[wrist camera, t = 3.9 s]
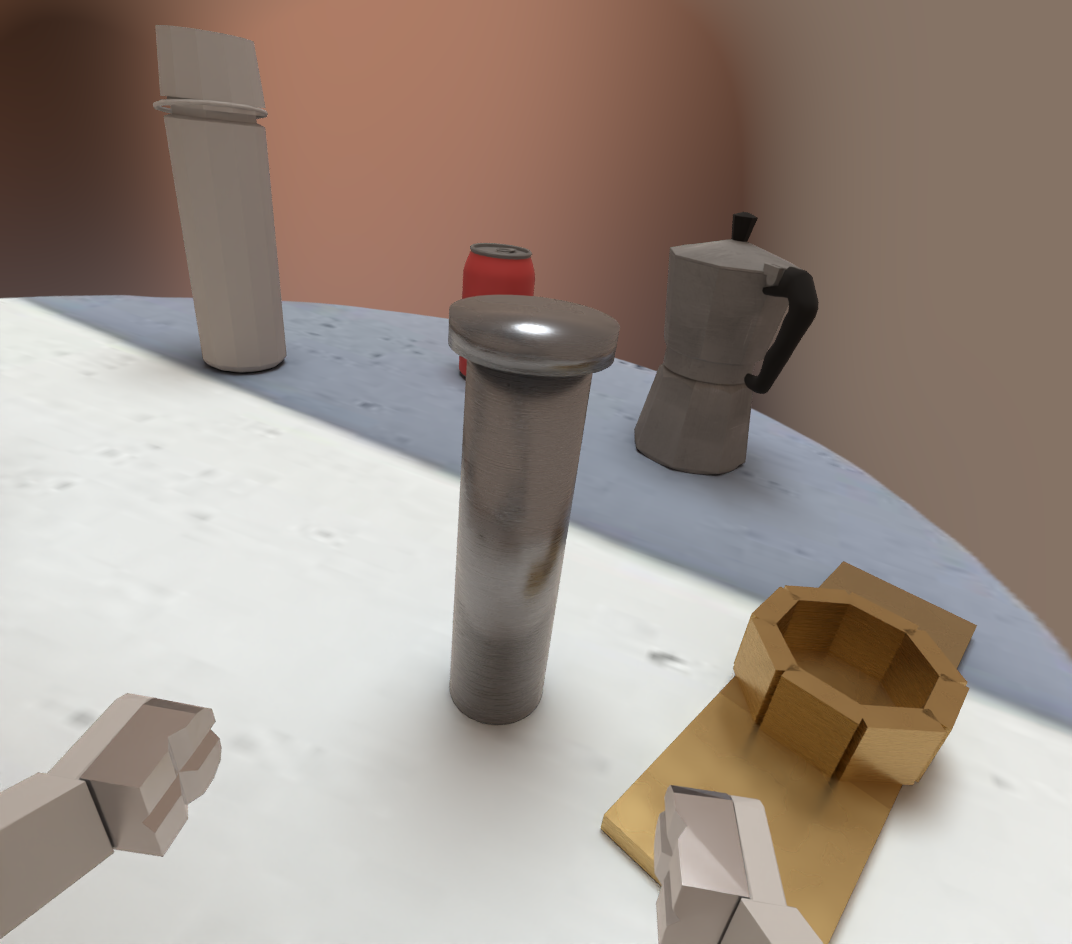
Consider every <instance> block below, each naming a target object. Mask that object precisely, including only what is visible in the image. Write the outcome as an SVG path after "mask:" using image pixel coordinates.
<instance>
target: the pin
mask: <svg viewBox="0 0 1072 944" xmlns="http://www.w3.org/2000/svg"><path fill="white" fill-rule="evenodd" d="M619 329H620V326H619V324H618V322H617V321H616V320H615V319H614V318H612V317H611V316H609V315H607V314H605V313H603V312H601V311H598V310H595V309H593V308H590V307H587V306H583V305H580V304H575V303H571V302H567V301H562V300H556V299H549V298H543V297H535V296H524V295H483V296H474V297H469V298H464V299H461V300H458V301H456V302H454V303H453V304H452V305H451V306H450V309H449V333H448V344H449V346H450V348H451V349H452V350H453V351H454V352H455V353H457V354H458V355H460V356H461V357H463V358H465V359H467V368H466V387H465V406H464V425H463V444H462V462H461V481H460V500H459V519H458V537H457V556H456V575H455V594H454V613H453V631H452V650H451V669H450V694H451V697H452V699H453V702H454V703H455V705H456V706H457V707H458V708H459V710H460V711H462V712H463V713H464V714H465V715H467V716H468V717H470V718H472V719H474V720H476V721H479V722H482V723H486V724H493V725H502V724H509V723H513V722H516V721H519V720H521V719H523V718H525V717H526V716H528V715H529V714H530V713H532V712H533V711H534V709H535V708H536V707H537V705H538V704H539V702H540V700H541V696H542V691H543V685H544V679H545V672H546V666H547V660H548V653H549V647H550V640H551V634H552V628H553V621H554V615H555V609H556V602H557V596H558V589H559V583H560V577H561V570H562V564H563V558H564V551H565V545H566V539H567V532H568V526H569V519H570V513H571V507H572V500H573V494H574V488H575V481H576V475H577V469H578V462H579V456H580V449H581V443H582V437H583V430H584V424H585V418H586V411H587V405H588V399H589V392H590V386H591V379H592V373H596V372H599V371H602V370H604V369H606V368H608V367H609V366H611V365H612V363H613V362H614V358H615V352H616V346H617V340H618V335H619Z"/></svg>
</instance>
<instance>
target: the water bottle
mask: <svg viewBox="0 0 1072 944" xmlns="http://www.w3.org/2000/svg"><path fill="white" fill-rule="evenodd" d="M156 39H157V54H158V68H159V82H160V95H162V96H167V100H160V101H157V102H155V103H153V106H154V108H155V109H157V110H160V111H164V112H167V113H172V114H169V115H165V116H164V120H165V126H166V133H167V139H168V145H169V152H170V158H171V163H172V170H173V176H174V182H175V188H176V194H177V201H178V207H179V213H180V219H181V226H182V232H183V238H184V244H185V250H186V257H187V263H188V269H189V275H190V281H191V288H192V294H193V300H194V306H195V313H196V319H197V325H198V331H199V337H200V344H201V350H202V355H203V360H204V361H205V362H206V363H207V364H208V365H210V366H212V367H215V368H217V369H220V370H223V371H231V372H240V373H242V372H257V371H262V370H266V369H269V368H273V367H275V366H276V365H278V364H279V363H280V362H281V361H283V359H284V358H285V357H286V345H285V335H284V324H283V313H282V302H281V292H280V282H279V271H278V260H277V249H276V240H275V239H276V238H275V227H274V217H273V206H272V195H271V185H270V174H269V163H268V153H267V142H266V131H265V127H263V126H261V125H259V124H257V123H256V119H259V118H264V117H267V115H268V114H267V111H265V110H263V109H261V108H265V103H264V97H263V92H262V86H261V81H260V75H259V69H258V63H257V58H256V53H255V47H254V42H253V41H250V40H247V39H244V38H241V37H236V36H232V35H227V34H222V33H217V32H211V31H204V30H199V29H192V28H183V27H176V26H164V25H156ZM162 105H171V109H169V108H164V107H161V106H162ZM257 107H260V108H257Z"/></svg>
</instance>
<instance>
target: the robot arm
mask: <svg viewBox="0 0 1072 944" xmlns="http://www.w3.org/2000/svg"><path fill="white" fill-rule="evenodd" d="M215 722H216V721H215V717H214V714H213V710H212V709H211V708H206V707H200V706H195V705H189V704H184V703H179V702H173V701H168V700H162V699H157V698H153V697H147V696H141V695H135V694H129V693H127V694H125V695H123V696H121V697H120V698H118V699H116V700H115V701H114V702H113V703H112V704H111V705H110V706H109V707H108V709H107V710H106V711H105V712H104V713H103V714H102V715H101V716H100V717H99V718H98V719H97V720H96V721H95V722H94V724H93V725H92V726H91V727H90V728H89V729H88V730H87V731H86V732H85V733H84V734H83V735H82V736H81V738H80V739H79V740H78V741H77V742H76V743H75V744H74V745H73V746H72V747H71V748H70V749H69V750H68V751H67V753H66V754H65V755H64V756H63V757H62V758H61V759H60V760H59V761H58V762H57V763H56V764H55V765H54V767H53V768H52V769H51V770H50V771H49V772H48V773H47V774H46V773H39V772H38V773H37V774H35V775H33V776H31V777H29V778H27V779H25V780H23V781H21V782H19V783H18V784H16V785H14V786H12V787H10V788H8V789H6V790H4V791H2V792H0V939H1V938H2V937H4V936H5V935H6V934H8V933H9V932H10V931H12V930H13V929H14V928H16V927H17V926H18V925H19V924H21V923H22V922H23V921H25V920H26V919H27V918H29V917H30V916H31V915H33V914H34V913H35V912H37V911H38V910H39V909H41V908H42V907H43V906H44V905H46V904H47V903H48V902H50V901H51V900H52V899H54V898H55V897H56V896H58V895H59V894H60V893H62V892H63V891H64V890H66V889H67V888H68V887H70V886H71V885H72V884H73V883H75V882H76V881H77V880H79V879H80V878H81V877H83V876H84V875H85V874H87V873H88V872H89V871H91V870H92V869H93V868H95V867H96V866H97V865H98V864H100V863H101V862H102V861H104V860H105V859H106V858H108V857H109V856H110V855H112V854H113V853H114V850H121V851H128V852H134V853H141V854H147V855H154V856H160V857H163V856H164V855H165V853H166V852H167V850H168V848H169V847H170V845H171V844H172V842H173V841H174V839H175V838H176V836H177V835H178V833H179V832H180V830H181V829H182V827H183V826H184V824H185V823H186V821H187V819H188V804H189V803H191V802H192V801H194V800H195V799H197V798H198V797H200V796H202V795H203V794H204V793H205V792H206V790H207V788H208V787H209V785H210V784H211V782H212V780H213V779H214V777H215V774H216V771H217V769H218V766H219V763H220V760H221V749H222V747H221V743H220V738H219V737H218V736H217V735H216V734H215V733H214V732H213V731H212V730H211V727H212V726H213V725H214V723H215ZM664 799H665V811H663V812H662V813H660V814H659V817H658V821H657V825H656V832H655V840H654V871H655V875H656V877H657V878H658V880H659V882H660V883H661V885H662V886H661V889H660V892H659V896H658V899H657V902H656V910H657V927H658V944H823V942H822V941H821V940H820V938H819V937H818V936H817V934H816V933H815V932H814V930H813V929H812V928H811V926H810V925H809V924H808V922H807V921H806V920H805V918H804V917H803V916H802V914H801V913H800V912H799V910H798V909H797V908H795V907H790V906H787V903H786V899H785V895H784V890H783V886H782V882H781V877H780V873H779V869H778V865H777V860H776V856H775V852H774V847H773V843H772V839H771V834H770V830H769V826H768V821H767V817H766V813H765V808H764V806H763V804H762V803H761V801H760V800H758V799H754V798H747V797H740V796H733V795H728V794H727V793H721V792H715V791H708V790H702V789H695V788H688V787H682V786H675V785H670V786H669V787H668V788H667V791H666V794H665V797H664ZM113 849H114V850H113Z"/></svg>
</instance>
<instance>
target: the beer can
mask: <svg viewBox="0 0 1072 944" xmlns="http://www.w3.org/2000/svg"><path fill="white" fill-rule="evenodd" d="M470 249H471V252H470V254H469V256H468V258H467V261H466V263H465V267H464V270H463V292H462V299H464V298H469V297H474V296H483V295H524V296H533V294H534V284H535V273H534V268H533V264H532V260H531V255H532V253H531V251H530V250H528V249H525V248H521V247H517V246H512V245H505V244H495V243H478V244H473V245H471V246H470ZM466 368H467V359H465V358H463V357H461V356H459V370H460V372H461V373H462V374H463V375H464V376H465V377H466Z"/></svg>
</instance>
